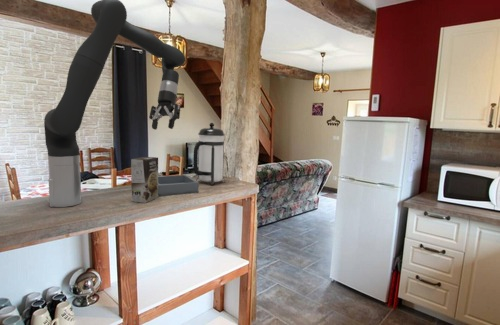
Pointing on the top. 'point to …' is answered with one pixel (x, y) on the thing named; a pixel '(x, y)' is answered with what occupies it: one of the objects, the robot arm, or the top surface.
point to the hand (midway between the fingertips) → (162, 128)
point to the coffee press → (209, 155)
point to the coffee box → (144, 179)
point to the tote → (176, 185)
